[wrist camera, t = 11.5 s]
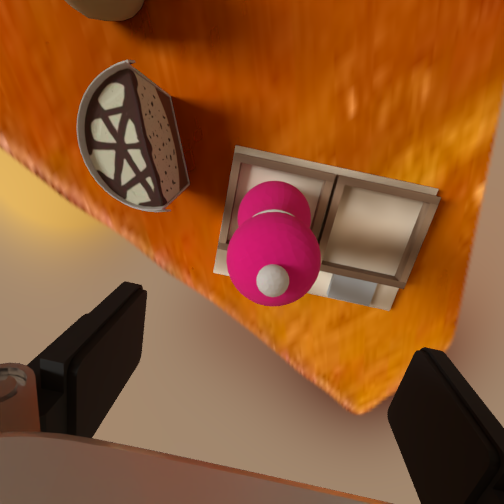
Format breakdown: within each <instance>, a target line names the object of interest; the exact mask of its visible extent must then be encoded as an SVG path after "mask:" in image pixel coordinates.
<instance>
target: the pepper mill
mask: <svg viewBox="0 0 504 504" xmlns="http://www.w3.org/2000/svg"><path fill="white" fill-rule="evenodd" d="M310 224H311V212H310V207H309V204H308V201H307V200H306V198H305V196H304V195H303V194H302V192H301V191H299V190H298V189H297V188H296V187H294V186H293V185H291V184H289V183H286V182H282V181H267V182H263V183H260V184H258V185H256V186H255V187H253V188H252V189H251V190H249V191H248V192H247V194H246V195H245V196H244V198H243V199H242V201H241V203H240V206H239V210H238V228H237V230H236V231H235V233H234V234H233V236H232V238H231V240H230V242H229V245H228V249H227V259H226V263H227V269H228V273H229V275H230V278H231V280H232V282H233V284H234V285H235V287H236V288H237V289H238V290H239V292H240V293H241V294H242V295H244V296H245V297H247V298H248V299H249V300H251V301H253V302H255V303H257V304H261V305H265V306H281V305H286V304H289V303H292V302H294V301H296V300H298V299H300V298H301V297H302V296H304V295H305V294H306V293H307V292H308V291H309V290H310V289H311V287H312V286H313V284H314V283H315V281H316V280H317V277H318V274H319V272H320V266H321V253H320V248H319V244H318V241H317V239H316V237H315V235H314V234H313V232H312V231H311V229H310Z"/></svg>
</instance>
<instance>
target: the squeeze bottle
mask: <svg viewBox="0 0 504 504" xmlns="http://www.w3.org/2000/svg"><path fill="white" fill-rule="evenodd" d="M65 1H66V2H67V3H68V4H69V5H70V6H72V7H73V8H74V9H76V10H77V11H79V12H80V13H82V14H83V15H85V16H86V17H88V18H91V19H98V20H104V21H123V20H126V19H129V18H132V17H133V16H134V15H135V14H136V13H137V12H138V11H139V10H140V9H141V7H142V5H143V2H144V0H65Z"/></svg>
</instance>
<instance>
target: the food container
mask: <svg viewBox="0 0 504 504" xmlns="http://www.w3.org/2000/svg"><path fill="white" fill-rule="evenodd" d="M133 63H135V60H125V61H122V62H119V63H116V64H115V65H113V66H111V67H109V68H107V69H106V70H104V71H103V72H102V73H101V74H99V75H98V76H97V77H96V78H95V79H94V80H93V82H92V83H91V84H90V85H89V87H88V88H87V90H86V92H85V94H84V95H83V98H82V101H81V103H80V106H79V111H78V116H77V137H78V144H79V148H80V152H81V155H82V157H83V160H84V162H85V164H86V166H87V168H88V170H89V172H90V173H91V175H92V176H93V177H94V179H95V180H96V182H97V183H98V184H99V185H100V186H101V187H102V188H103V189H104V190H105V191H106V192H107V193H109V194H110V195H111V196H112V197H114V198H115V199H117V200H119V201H120V202H122V203H124V204H125V205H128V206H130V207H133V208H135V209H139V210H143V211H150V212H169V211H171V210H166V209H165V208H166V207H167V206H168V205H169V204H170V203H171V202H172V201H173V200H175V199H176V198H177V197H178V196H179V195H180V194H181V193H182V192H183V191H184V190H185V189H186V188H187V187H188V186H189V185H190V182H189V177H188V173H187V168H186V163H185V159H184V154H183V149H182V145H181V140H180V136H179V131H178V126H177V122H176V117H175V113H174V108H173V103H172V99H171V96H170V95H169V94H168V93H166V92H165V91H164V90H163V89H161V88H160V87H159V86H157V85H156V84H155V83H153V82H152V81H151V80H150V79H148V78H147V77H146V76H144V75H143V74H142V73H140V72H139V71H138V70H137V69H135V68H134V67H133V66H131V65H130V64H133Z"/></svg>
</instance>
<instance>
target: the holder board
mask: <svg viewBox="0 0 504 504" xmlns="http://www.w3.org/2000/svg"><path fill="white" fill-rule="evenodd" d="M267 181H282V182H286V183H289V184H291V185H293V186H294V187H296V188H297V189H298V190H299V191H301V192H302V194H303V195H304V196H305V198H306V200H307V201H308V204H309V207H310V212H311V224H310V229H311V231H312V232H313V234H314V235H315V237H316V239H317V241H318V244H319V248H320V253H321V266H320V272H319V274H318V277H317V280H316V281H315V283H314V284H313V286H312V287H311V289H310V290H309V291H308V292H307V293H310V294H314V295H319V296H323V297H328V298H333V299H337V300H342V301H346V302H351V303H356V304H360V305H365V306H369V307H374V308H379V309H383V310H388V311H390V309H391V306H392V304H393V301H394V299H395V296H396V294H397V291H398V289H399V288H401V289H404V287H405V285H406V282H407V280H408V277H409V275H410V273H411V270H412V268H413V265H414V263H415V260H416V258H417V255H418V253H419V251H420V248H421V246H422V243H423V241H424V238H425V236H426V234H427V231H428V229H429V226H430V224H431V221H432V219H433V216H434V214H435V212H436V209H437V207H438V204H439V202H440V199H441V197H438V196H436V195H437V192H438V190H439V189H436V188H432V187H428V186H423V185H418V184H414V183H409V182H404V181H400V180H395V179H391V178H386V177H381V176H377V175H372V174H367V173H363V172H358V171H354V170H349V169H344V168H340V167H335V166H330V165H326V164H321V163H316V162H312V161H307V160H303V159H298V158H293V157H289V156H284V155H279V154H275V153H270V152H266V151H261V150H256V149H252V148H247V147H242V146H238V145H236V146H235V151H234V157H233V163H232V168H231V174H230V180H229V186H228V191H227V197H226V203H225V208H224V214H223V220H222V226H221V231H220V237H219V243H218V248H217V254H216V260H215V265H214V271H213V273H218V274H222V275H227V276H230V275H229V273H228V269H227V263H226V259H227V249H228V245H229V242H230V240H231V238H232V236H233V234H234V233H235V231H236V230H237V228H238V210H239V206H240V203H241V201H242V199H243V198H244V196H245V195H246V194H247V192H248V191H249V190H251V189H252V188H253V187H255V186H256V185H258V184H260V183H263V182H267Z"/></svg>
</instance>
